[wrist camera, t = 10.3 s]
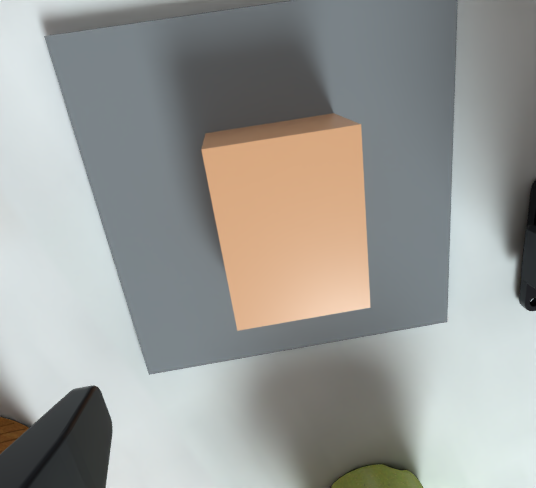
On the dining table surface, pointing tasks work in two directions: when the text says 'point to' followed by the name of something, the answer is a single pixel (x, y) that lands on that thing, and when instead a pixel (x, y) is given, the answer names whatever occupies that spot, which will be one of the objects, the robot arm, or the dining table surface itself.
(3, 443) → the disposable coffee cup
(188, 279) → the slate mat
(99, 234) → the dining table surface
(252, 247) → the clay brick
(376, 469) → the plant pot
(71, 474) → the robot arm
